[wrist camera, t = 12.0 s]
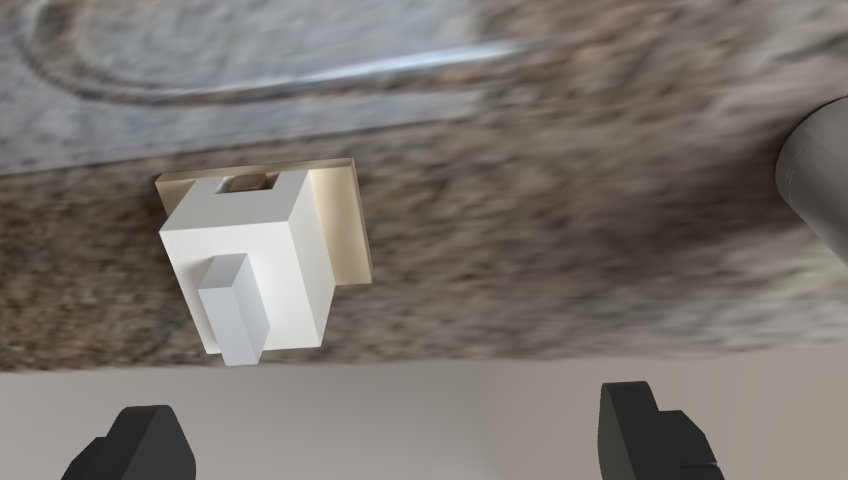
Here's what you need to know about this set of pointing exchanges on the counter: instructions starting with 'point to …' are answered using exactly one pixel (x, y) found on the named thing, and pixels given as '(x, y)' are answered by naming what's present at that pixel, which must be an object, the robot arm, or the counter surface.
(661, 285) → the counter surface
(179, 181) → the wall board
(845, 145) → the robot arm
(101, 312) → the counter surface
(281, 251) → the notched white block
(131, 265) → the counter surface
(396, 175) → the counter surface
